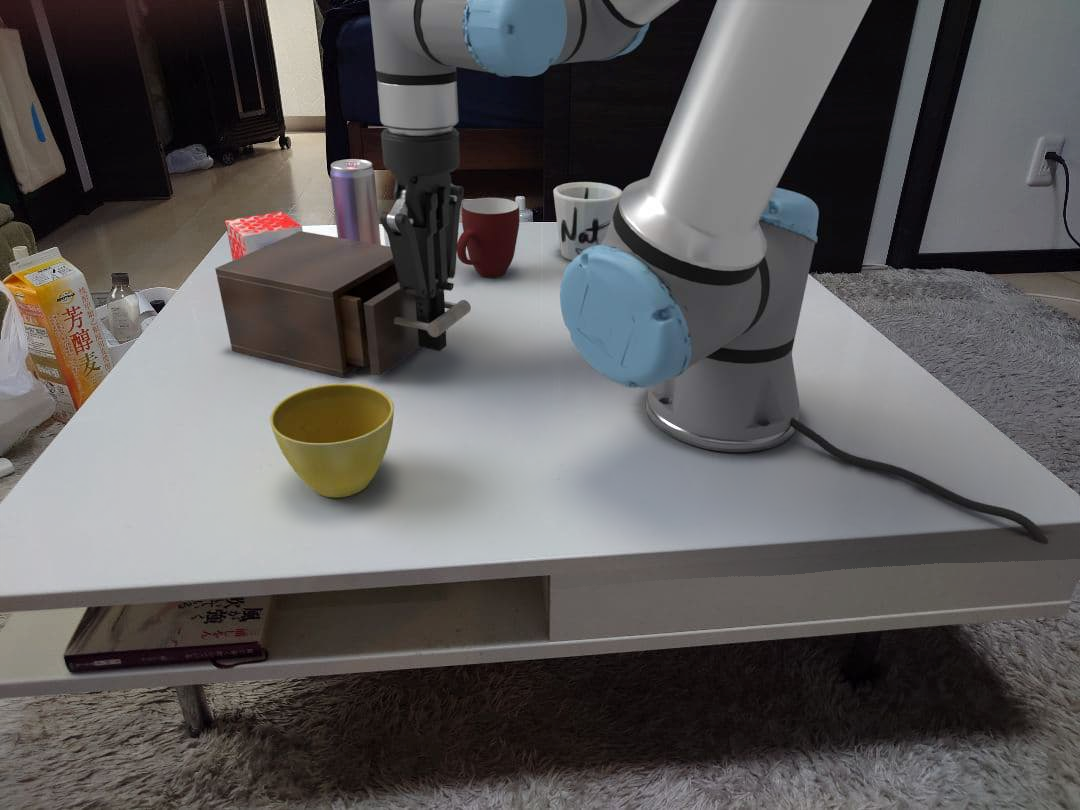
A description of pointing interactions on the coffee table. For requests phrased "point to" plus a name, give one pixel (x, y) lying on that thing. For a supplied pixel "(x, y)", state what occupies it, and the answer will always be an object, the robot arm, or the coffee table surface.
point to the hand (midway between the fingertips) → (432, 346)
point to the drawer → (386, 322)
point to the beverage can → (355, 200)
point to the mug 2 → (583, 215)
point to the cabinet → (296, 298)
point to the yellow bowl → (334, 435)
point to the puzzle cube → (258, 232)
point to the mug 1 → (489, 235)
